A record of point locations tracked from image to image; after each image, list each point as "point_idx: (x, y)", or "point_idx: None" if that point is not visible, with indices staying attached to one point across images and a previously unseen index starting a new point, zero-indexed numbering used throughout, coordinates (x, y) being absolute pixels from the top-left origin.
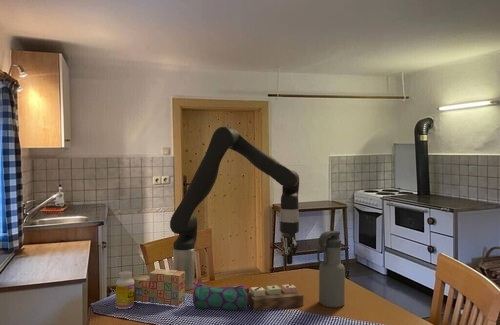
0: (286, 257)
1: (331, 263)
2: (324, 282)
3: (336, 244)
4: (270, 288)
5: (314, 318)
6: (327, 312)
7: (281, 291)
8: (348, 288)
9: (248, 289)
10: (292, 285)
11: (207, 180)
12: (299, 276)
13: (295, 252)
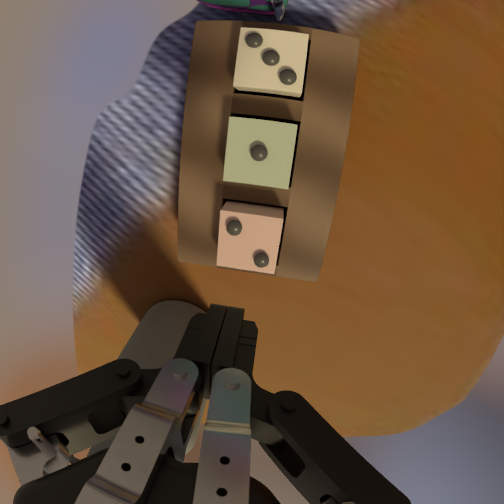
0: (217, 341)
1: None
2: (131, 353)
3: None
4: (248, 127)
5: (88, 215)
6: (121, 277)
7: (261, 197)
8: None
9: (274, 9)
10: (250, 264)
11: None
12: (442, 371)
13: (112, 405)
